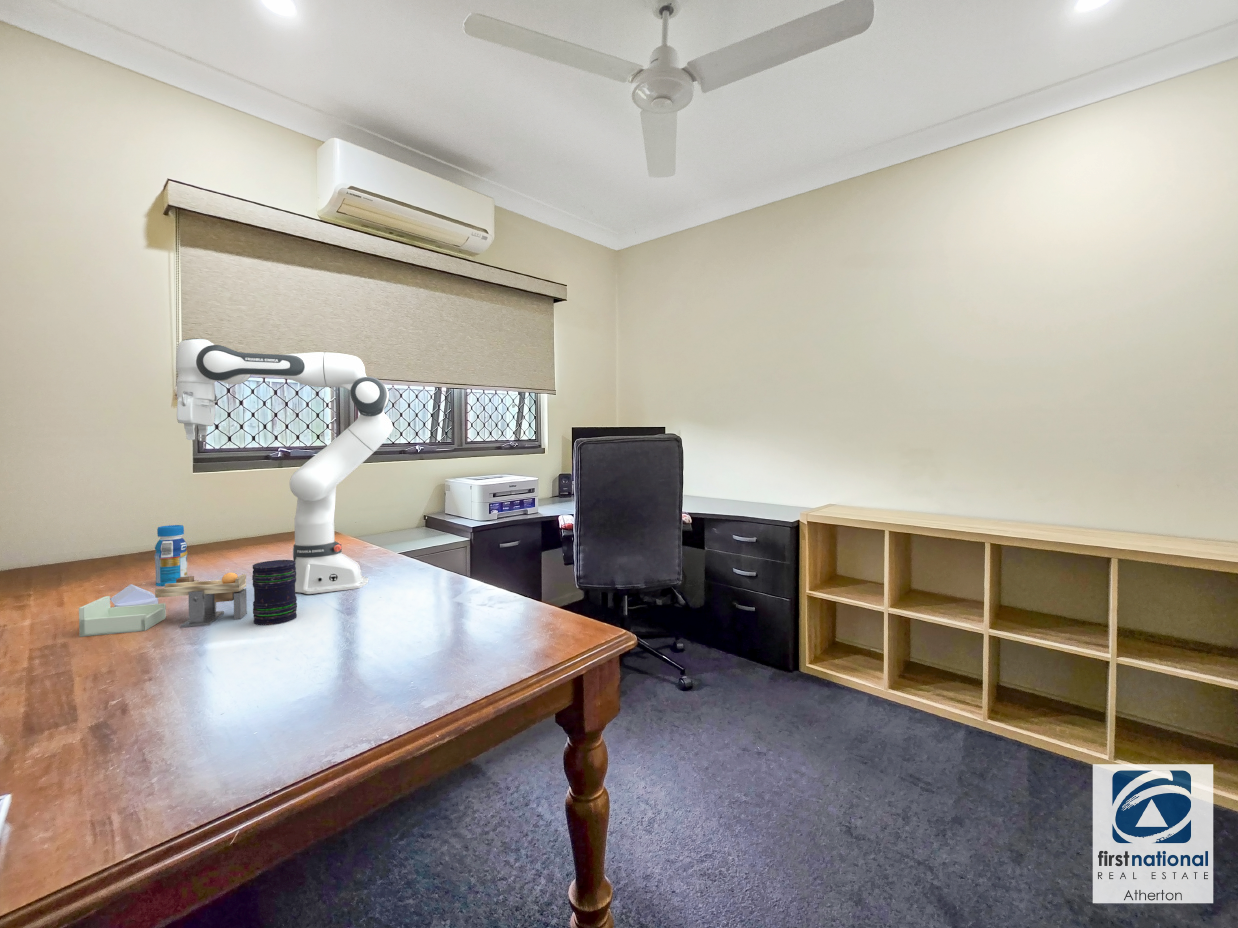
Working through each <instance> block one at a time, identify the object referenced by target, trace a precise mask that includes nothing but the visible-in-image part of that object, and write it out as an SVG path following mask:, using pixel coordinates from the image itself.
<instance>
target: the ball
mask: <svg viewBox="0 0 1238 928" xmlns="http://www.w3.org/2000/svg"><path fill="white" fill-rule="evenodd" d="M237 577H239V575H238V574H236V573H235V572H227V573H225V574H224V575H223V576H222V578H221V580H222V583H223V584H228V583H235V579H236V578H237Z"/></svg>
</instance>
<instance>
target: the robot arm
mask: <svg viewBox="0 0 1238 928" xmlns="http://www.w3.org/2000/svg"><path fill="white" fill-rule="evenodd" d="M175 359H176V360H175V368H176V371H177V379H176V400H177V403H176V420H177V422H178V423H179V424H183V427H184V431H185V435H186V436H185V437H186V440H188V441H190V440H191V441H195V440H196V437H197V440H198V442H199V441H200V442H201V441H203V442H204V441H207V434H208V431H209V427H213V426H214V423H215V419H216V418H215V416H216V404H215V403H217V402H218V396H217V394H216V393H215V392H216V391H215V382H220V383H224V384H227V385H232V386H233V385H241V384H243V383H246V382H247V381H248V380H249V379H250V378H251V376H273V377H280V378H284V379H288V380H290V381H293V382H296V383H299V384H301V385H304V386H310V387H318V388H343V389H346V390H348V391H349V395H350V398H351V401H352V403H353V405H354V406H355V408H356V410H357V411H358V413H359V416H358V417H357V418H356V420H355V421H354V422H352V423H351V425H349V426H348V427H347V428H346V429H345V430H344V431H342V432H341V433H340V434H338V436H337V437H335V438H334V440H332V441H331V442H330V443H329V444H327V445H326V446H325V447H324V448H323V449H321V450H320V451H319V452H317V453H316V454H315V455H314V456H312V457H311V458H310V459H309V460H307V461H306V462H305V463H304V464H303V465H301V466H300V467H299V468H297V470H296V471H294V472H293V474H292V475H291V477H290V480H289V488H290V491H291V493H292V494H293V495H294V496H295V497H296V498H297V499H296V508H295V509H296V511H295V516H294V544H293V548H292V560H294V561H296V565H295V566H296V583H295V593H300V594H301V593H302V594H305V595H312V594H314V595H315V594H321V593H322V594H323V593H329V592H330V593H331V592H337V591H346V590H355V589H356V590H357V589H360V588H363V586H364V585H365V586H367V585H368V584H369V582H368V581H370V579H369V577H367V576H365V575H364V576H363V575H362V571H361V570H362V569H361V566H360V564H359V563H358V562H357V561H356V560H354V559H352V558H351V557H349V556H347V555H346V554H344V553H342V550H343V548H342V547H343V546H342V545H343V544H342V543H341V542H338V541H336V540H335V511H336V498H337V496H336V495H337V486H338V485H339V484H340V483H342V481H343V480H345V479H346V478H348V477H349V475H350V474H351V473H352V472H354V471H356V469H358V467H359V466H361V465H362V464H363V463H364V462H365V461H366V460H367V459H368V458H369V457H370V456H371V455H373V454H374V452H376V451H377V450H378V449H379V448H380V447H381V446H382V445H383V444H384V443H385V441H386V440H388V438H389V436H390V435H391V434H392V432H393V430H394V429H393V428H394V425H393V422H392V420H391V419H390V418H389V417H388V416H387V414H386V413H385V410H386V408H387V406H388V405H389V403H390V402H389V401H390V393H389V390H388V388H387V386H386V385H385V384H384V382H382V380H380V379H378V378H376V377H373V376H367V375H366V368H365V365H364V363H363V361H362V359H361V358H359V357H358V356H355V355H351V354H347V353H339V352H329V351H326V352H323V351H316V352H315V351H311V352H300V353H298V352H297V353H287V354H280V353H279V354H275V353H273V354H272V353H257V352H254V353H253V352H241V351H238V350H234V349H231V348H230V347H227V346H224V345H221V344H215V343H213V342H211V341H210V340H208V339H206V338H187V339H184V340H182V341H180V342H179V343H178V346H177V348H176V357H175ZM196 426H197V429H198V434H196V433H195V432H196V431H195V427H196ZM365 577H367V578H365ZM366 584H367V585H366ZM365 586H364V587H365Z"/></svg>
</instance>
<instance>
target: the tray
mask: <svg viewBox="0 0 1238 928" xmlns="http://www.w3.org/2000/svg"><path fill="white" fill-rule="evenodd" d="M110 598H111V595H107V596H106V595H105V596H103V597H100V598H98V599H96V600H94V601H91V602H89V603H86V604H85V605H83V606H82V605H81V606H80V607H78V621H79V623H78V624H79V627H78V629H79V630H78V632H79V638H81V637H92V636H102V635H103V636H104V635H111V634H112V635H114V634H116V635H117V634H125V633H137V632H145V631H148V630H149V629H150V628H152V627H154V626H155V625H157V624H158V623H160V622H162V621H163V620H165V619H166V618H167V614H166V612H167V611H166V609H167V607H166V602H163V603H158V604H148V605H135V606H123V607H114V606H112V607H111V600H110Z"/></svg>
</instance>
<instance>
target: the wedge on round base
mask: <svg viewBox="0 0 1238 928" xmlns="http://www.w3.org/2000/svg"><path fill="white" fill-rule="evenodd" d="M110 602H112V603H113V607H123V606H135V605H148V604H159V598H155V594H154V593H153V592H152V591H148V590H147V589H144V588H141V587H139V586H136V585H135V584H132V583H131V584H128V585H127V586H126V587H124V588H123V589H122V590H120V591H119V592H118V593H116V594H115V595H113V596H112V597H110Z"/></svg>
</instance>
